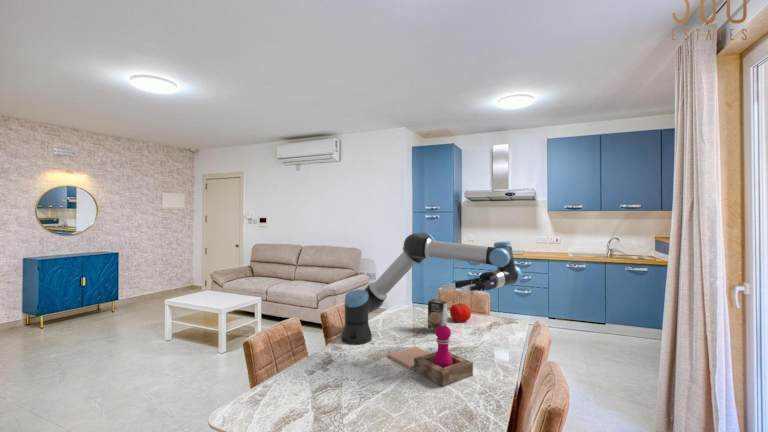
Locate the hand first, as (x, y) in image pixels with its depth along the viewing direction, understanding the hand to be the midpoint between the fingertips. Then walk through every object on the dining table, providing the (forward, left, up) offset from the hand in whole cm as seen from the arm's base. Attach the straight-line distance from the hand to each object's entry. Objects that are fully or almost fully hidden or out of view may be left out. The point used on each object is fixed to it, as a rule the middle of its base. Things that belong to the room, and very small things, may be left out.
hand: (452, 289), depth 143 cm
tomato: (-41, +50, -32) cm, 73 cm away
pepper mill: (+2, -8, -32) cm, 33 cm away
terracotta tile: (-15, -8, -31) cm, 36 cm away
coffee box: (-35, +26, -32) cm, 54 cm away
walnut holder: (+3, -8, -31) cm, 32 cm away
